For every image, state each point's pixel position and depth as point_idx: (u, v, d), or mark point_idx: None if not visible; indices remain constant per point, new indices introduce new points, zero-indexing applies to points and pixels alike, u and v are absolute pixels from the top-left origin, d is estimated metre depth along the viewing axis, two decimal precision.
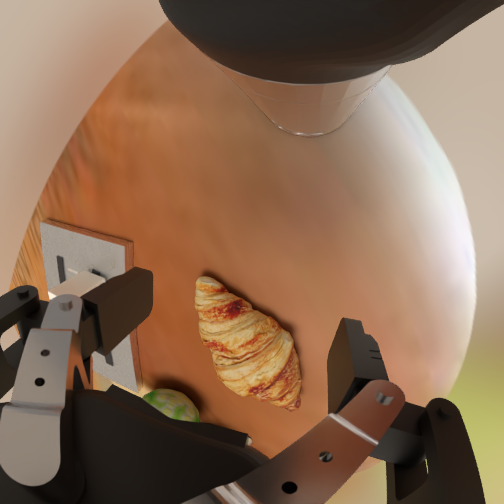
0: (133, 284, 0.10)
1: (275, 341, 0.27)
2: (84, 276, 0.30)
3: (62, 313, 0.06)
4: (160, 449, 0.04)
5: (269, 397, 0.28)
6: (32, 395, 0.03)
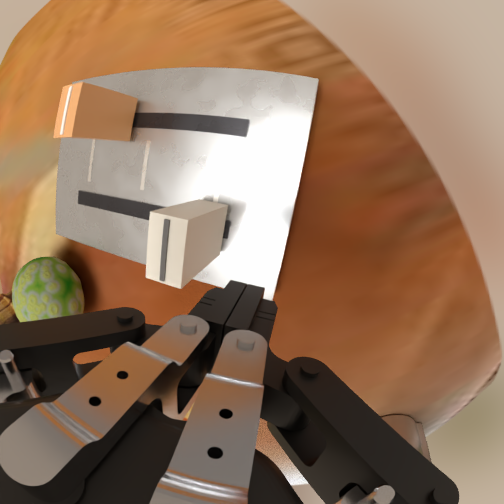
0: (239, 299, 0.10)
1: None
2: (219, 225, 0.20)
3: (194, 339, 0.07)
4: (160, 449, 0.04)
5: None
6: (78, 409, 0.03)
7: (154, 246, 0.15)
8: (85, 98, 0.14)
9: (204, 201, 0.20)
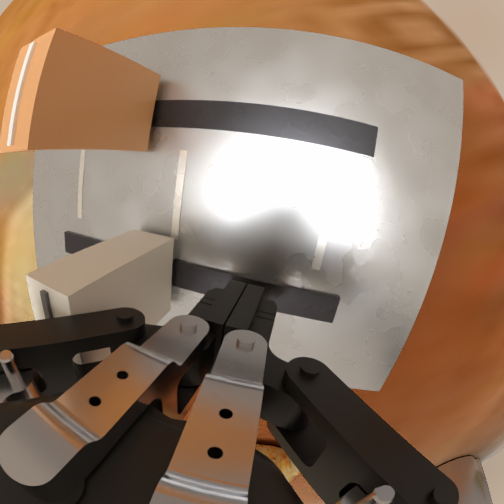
0: (239, 298, 0.10)
1: None
2: (159, 272, 0.12)
3: (194, 339, 0.07)
4: (160, 449, 0.04)
5: None
6: (77, 409, 0.03)
7: None
8: (60, 62, 0.05)
9: (138, 234, 0.13)
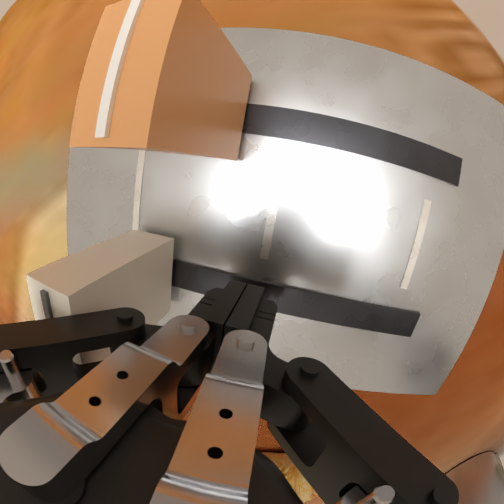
0: (239, 298, 0.10)
1: None
2: (159, 273, 0.12)
3: (194, 339, 0.07)
4: (160, 449, 0.04)
5: None
6: (78, 409, 0.03)
7: None
8: (187, 33, 0.04)
9: (139, 234, 0.13)
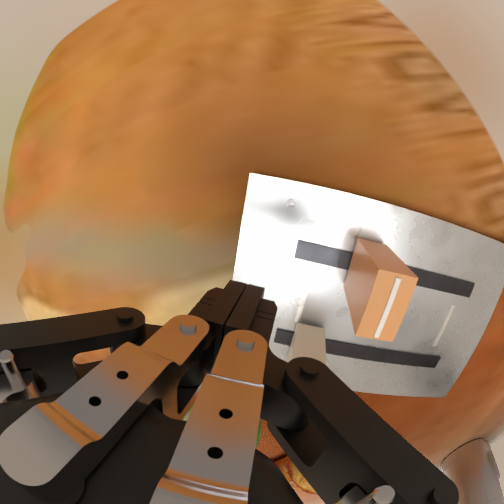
0: (239, 298, 0.10)
1: None
2: None
3: (194, 339, 0.07)
4: (160, 449, 0.04)
5: None
6: (78, 409, 0.03)
7: None
8: None
9: (304, 327, 0.21)
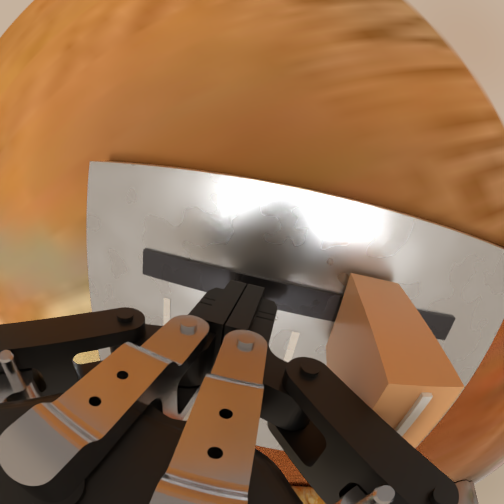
0: (239, 298, 0.10)
1: None
2: None
3: (194, 339, 0.07)
4: (160, 449, 0.04)
5: None
6: (78, 409, 0.03)
7: None
8: None
9: None
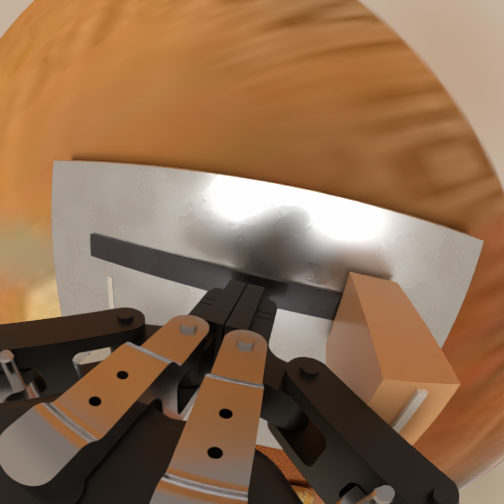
0: (239, 298, 0.10)
1: None
2: None
3: (194, 339, 0.07)
4: (160, 449, 0.04)
5: None
6: (77, 409, 0.03)
7: None
8: None
9: None
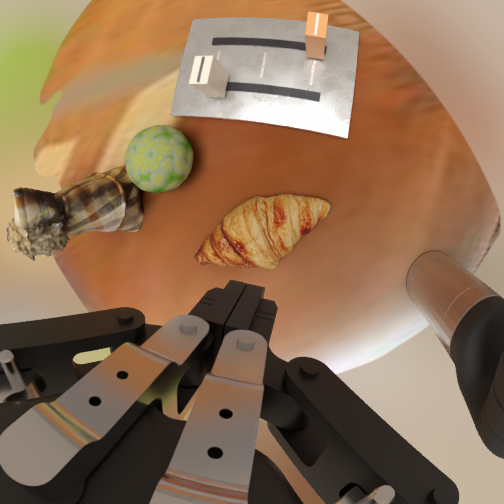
0: (239, 298, 0.10)
1: (277, 259, 0.38)
2: (224, 78, 0.32)
3: (194, 339, 0.07)
4: (160, 449, 0.04)
5: (223, 250, 0.38)
6: (78, 409, 0.03)
7: (195, 68, 0.27)
8: None
9: None
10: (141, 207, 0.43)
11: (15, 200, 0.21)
